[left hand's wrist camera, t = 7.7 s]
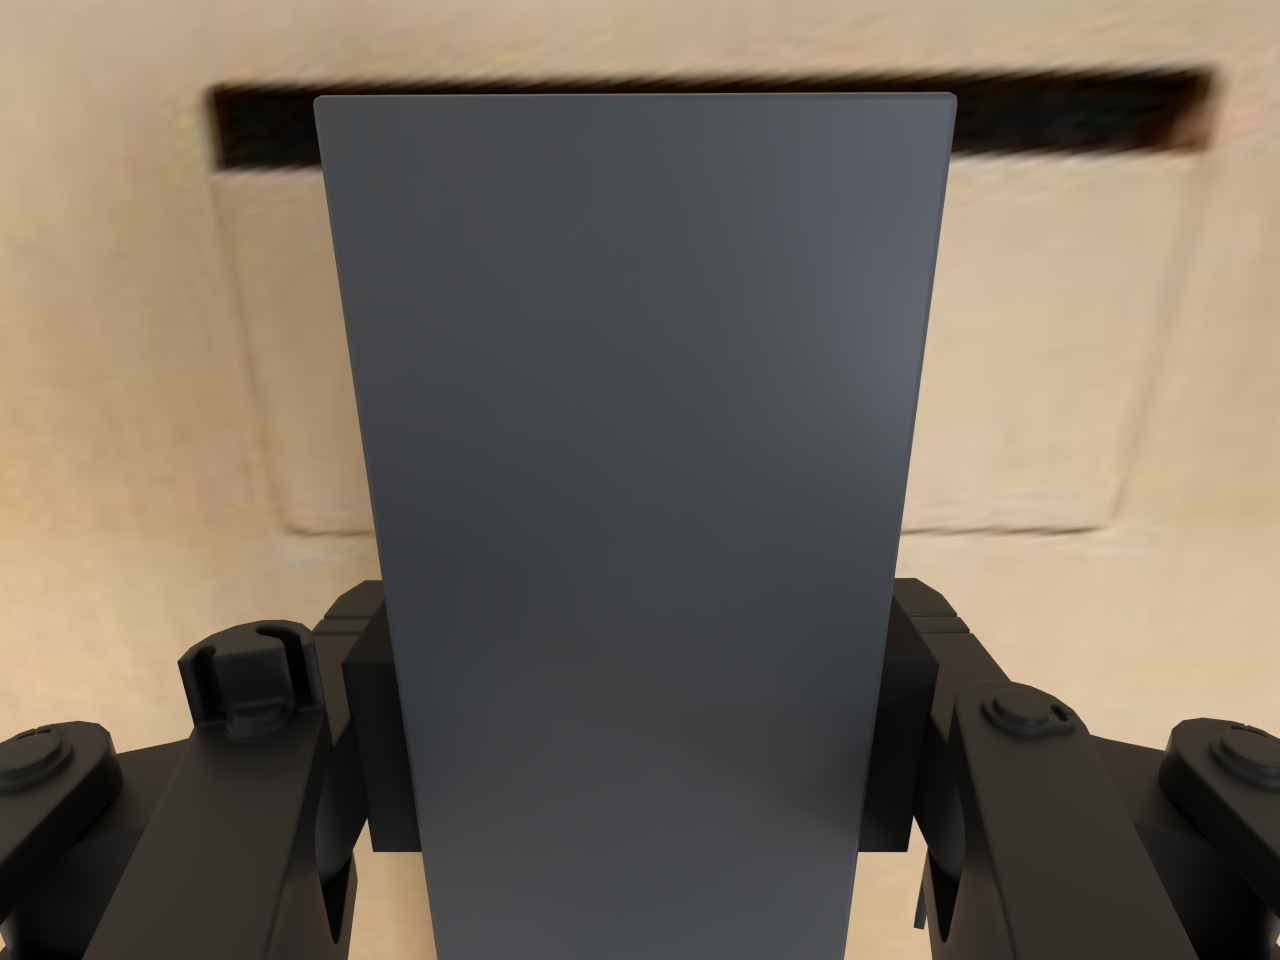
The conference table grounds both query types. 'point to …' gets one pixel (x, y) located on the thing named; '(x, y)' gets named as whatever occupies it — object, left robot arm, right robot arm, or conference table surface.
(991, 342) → the conference table surface
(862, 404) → the beam
